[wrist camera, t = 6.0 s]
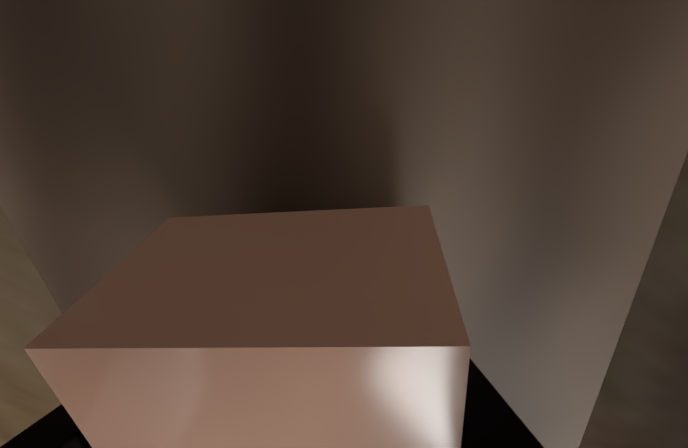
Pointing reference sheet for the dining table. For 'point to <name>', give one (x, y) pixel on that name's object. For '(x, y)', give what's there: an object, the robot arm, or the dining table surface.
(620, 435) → the dining table surface
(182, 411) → the terracotta block
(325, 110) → the walnut base
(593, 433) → the dining table surface
